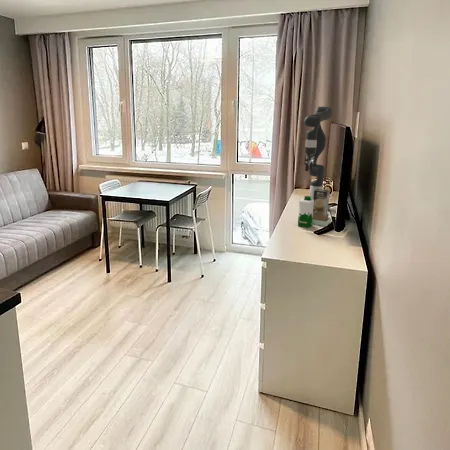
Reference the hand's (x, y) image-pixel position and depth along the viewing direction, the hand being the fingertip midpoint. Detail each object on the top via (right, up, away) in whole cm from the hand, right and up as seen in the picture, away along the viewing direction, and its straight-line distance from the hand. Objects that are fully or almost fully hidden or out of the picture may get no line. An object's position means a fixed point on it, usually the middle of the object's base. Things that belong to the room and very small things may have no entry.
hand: (308, 170), depth 267 cm
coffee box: (+5, -31, -10) cm, 33 cm away
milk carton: (-6, -40, -15) cm, 43 cm away
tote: (+5, -37, -8) cm, 39 cm away
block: (+5, -36, -9) cm, 38 cm away
